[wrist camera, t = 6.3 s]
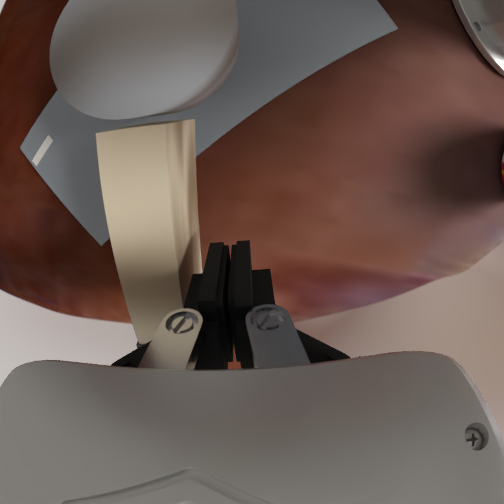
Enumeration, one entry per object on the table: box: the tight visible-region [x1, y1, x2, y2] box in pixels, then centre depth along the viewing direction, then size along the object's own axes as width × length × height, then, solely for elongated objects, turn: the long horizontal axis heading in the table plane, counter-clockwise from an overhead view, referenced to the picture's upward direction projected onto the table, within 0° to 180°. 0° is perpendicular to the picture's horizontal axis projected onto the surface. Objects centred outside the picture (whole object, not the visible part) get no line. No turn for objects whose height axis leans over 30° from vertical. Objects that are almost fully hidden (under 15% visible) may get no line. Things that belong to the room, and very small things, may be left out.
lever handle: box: [50, 0, 239, 348], centre depth 10 cm, size 17×6×5 cm, turn 179°
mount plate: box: [20, 0, 398, 246], centre depth 12 cm, size 24×10×4 cm, turn 127°
